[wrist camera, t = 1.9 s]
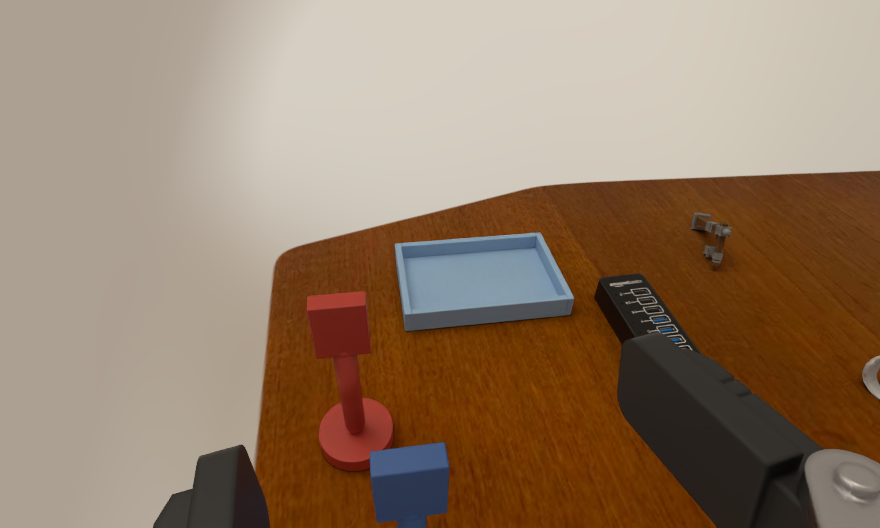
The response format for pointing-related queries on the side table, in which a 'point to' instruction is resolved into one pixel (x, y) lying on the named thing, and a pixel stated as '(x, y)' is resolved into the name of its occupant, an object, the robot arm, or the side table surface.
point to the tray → (479, 281)
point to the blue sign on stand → (410, 483)
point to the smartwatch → (872, 376)
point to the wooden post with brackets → (720, 231)
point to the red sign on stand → (347, 381)
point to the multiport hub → (638, 310)
